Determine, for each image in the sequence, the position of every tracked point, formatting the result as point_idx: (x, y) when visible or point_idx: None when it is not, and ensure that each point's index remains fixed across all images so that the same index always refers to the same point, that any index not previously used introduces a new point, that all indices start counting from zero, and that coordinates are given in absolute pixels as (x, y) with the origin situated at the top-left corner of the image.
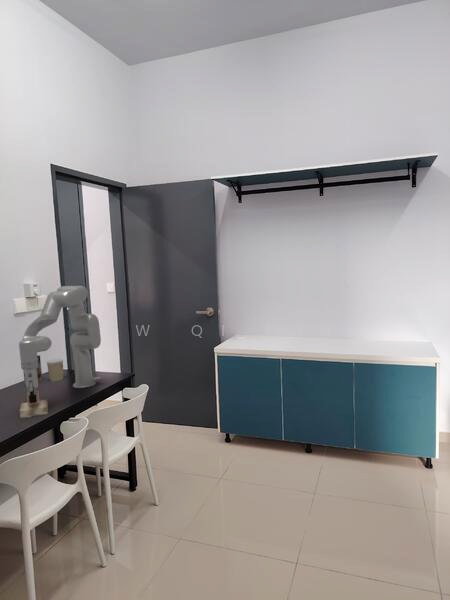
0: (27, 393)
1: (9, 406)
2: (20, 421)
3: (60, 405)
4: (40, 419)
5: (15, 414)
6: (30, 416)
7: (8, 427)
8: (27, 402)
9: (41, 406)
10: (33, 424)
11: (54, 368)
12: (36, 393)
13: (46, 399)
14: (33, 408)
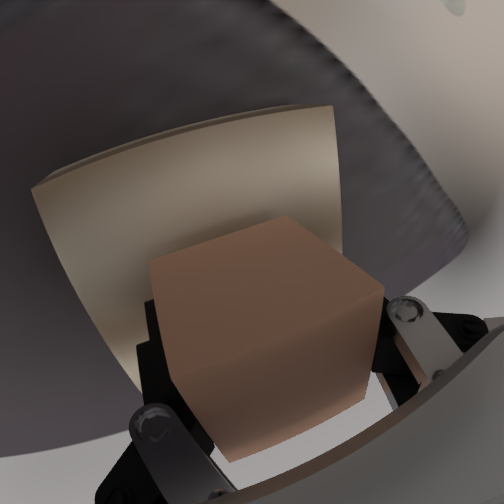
0: (327, 416)
1: (73, 432)
2: None
3: (78, 32)
4: (379, 143)
5: None
6: None
7: (399, 290)
8: (125, 366)
9: (303, 168)
10: (424, 172)
11: None
12: (377, 302)
13: (38, 192)
14: (330, 236)
